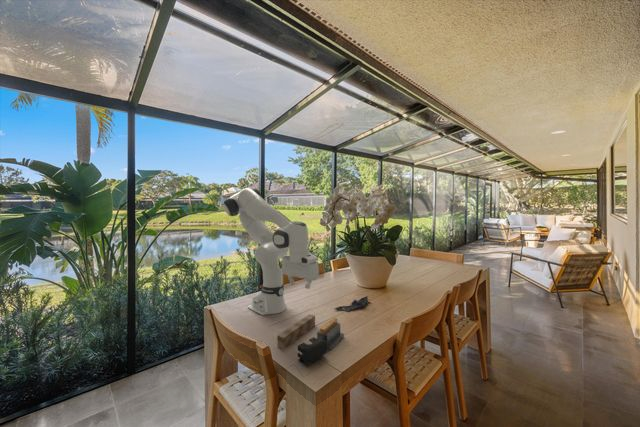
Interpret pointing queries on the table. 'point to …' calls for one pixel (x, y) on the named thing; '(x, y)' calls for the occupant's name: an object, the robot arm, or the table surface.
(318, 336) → the fulcrum stand
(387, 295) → the table surface
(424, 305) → the table surface
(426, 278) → the table surface
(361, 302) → the decorative bat
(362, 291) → the table surface
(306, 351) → the end cap
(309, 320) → the walnut beam
